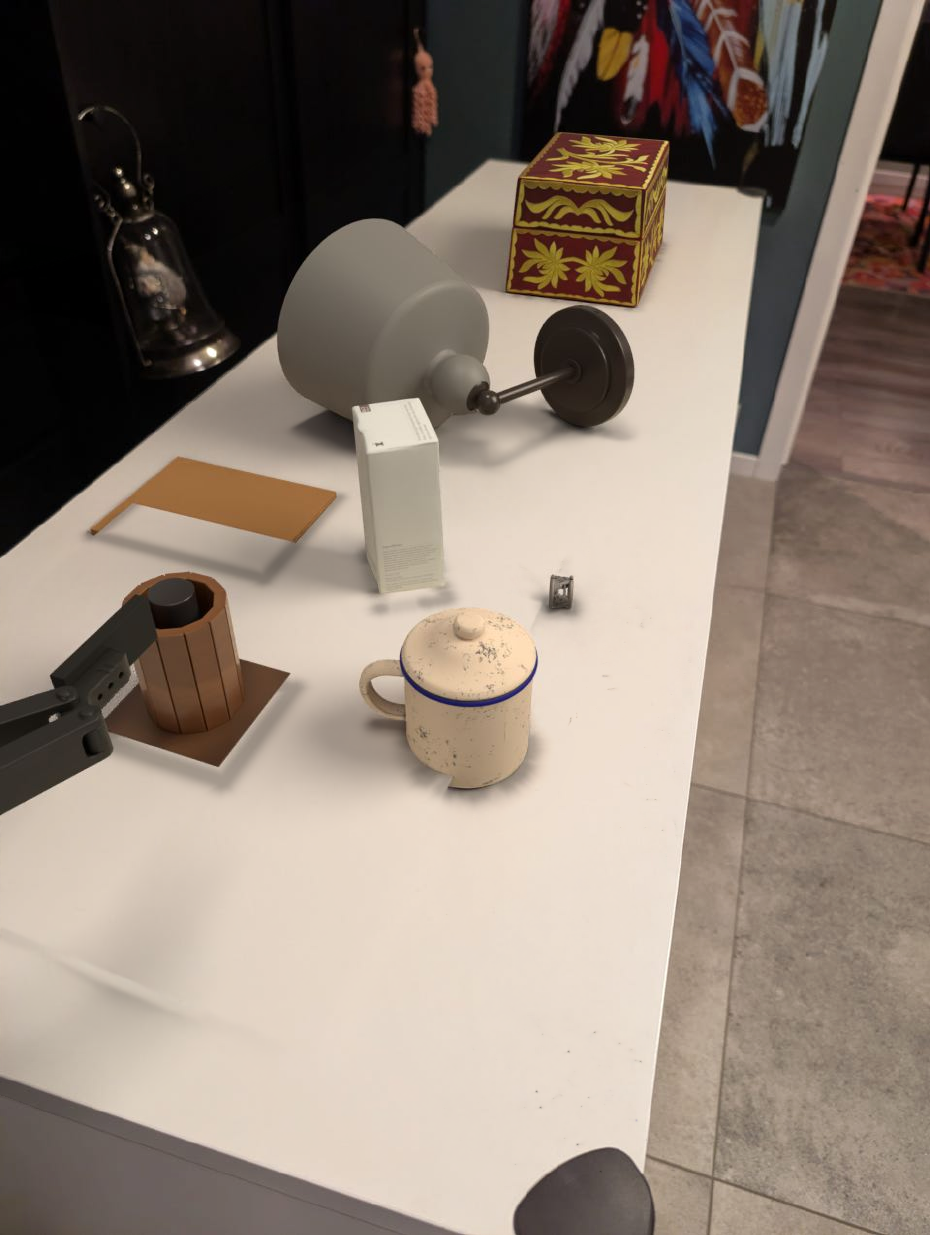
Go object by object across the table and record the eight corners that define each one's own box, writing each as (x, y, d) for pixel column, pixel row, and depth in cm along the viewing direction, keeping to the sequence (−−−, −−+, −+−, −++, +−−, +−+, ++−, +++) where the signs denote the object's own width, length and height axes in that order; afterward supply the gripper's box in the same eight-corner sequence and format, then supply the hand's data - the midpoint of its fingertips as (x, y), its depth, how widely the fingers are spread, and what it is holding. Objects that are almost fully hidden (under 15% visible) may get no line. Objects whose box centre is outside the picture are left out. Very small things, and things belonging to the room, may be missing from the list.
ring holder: (100, 742, 68) (58, 618, 61) (180, 654, 76) (151, 534, 68) (222, 781, 66) (193, 657, 58) (293, 687, 73) (275, 565, 65)
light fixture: (276, 233, 89) (478, 360, 77) (467, 197, 104) (661, 298, 92) (271, 422, 103) (442, 555, 91) (441, 366, 118) (607, 474, 106)
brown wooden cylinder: (128, 718, 68) (98, 621, 62) (183, 658, 73) (160, 563, 67) (211, 744, 66) (188, 646, 60) (261, 681, 71) (244, 585, 65)
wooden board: (91, 534, 88) (89, 528, 88) (178, 461, 98) (177, 456, 98) (263, 578, 83) (262, 572, 83) (336, 496, 93) (336, 491, 93)
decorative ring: (570, 616, 80) (573, 587, 78) (548, 614, 80) (550, 586, 78) (571, 595, 82) (574, 567, 80) (548, 593, 82) (551, 565, 80)
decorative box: (546, 230, 154) (552, 128, 144) (662, 242, 150) (677, 138, 141) (504, 292, 134) (508, 178, 124) (637, 308, 130) (652, 191, 120)
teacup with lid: (534, 704, 72) (543, 580, 64) (527, 799, 65) (537, 673, 57) (375, 691, 72) (366, 568, 65) (352, 784, 66) (339, 658, 58)
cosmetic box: (446, 598, 81) (445, 443, 72) (376, 609, 80) (365, 452, 71) (426, 542, 87) (423, 393, 78) (361, 551, 86) (349, 400, 77)
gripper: (-498, 867, 42) (-113, 589, 57) (-49, 1074, 35) (252, 696, 50) (-621, 749, 37) (-165, 481, 52) (-128, 963, 30) (231, 583, 46)
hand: (40, 586), depth 51 cm, fingers open, 13 cm apart
